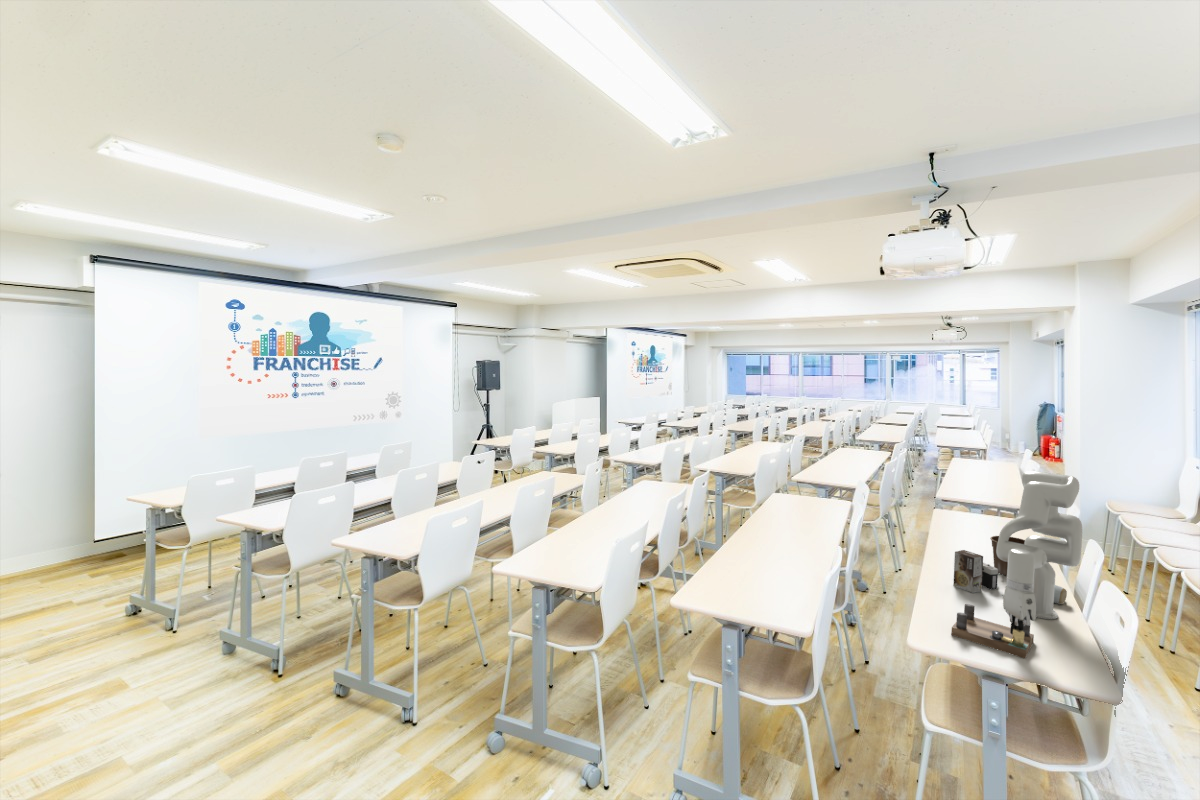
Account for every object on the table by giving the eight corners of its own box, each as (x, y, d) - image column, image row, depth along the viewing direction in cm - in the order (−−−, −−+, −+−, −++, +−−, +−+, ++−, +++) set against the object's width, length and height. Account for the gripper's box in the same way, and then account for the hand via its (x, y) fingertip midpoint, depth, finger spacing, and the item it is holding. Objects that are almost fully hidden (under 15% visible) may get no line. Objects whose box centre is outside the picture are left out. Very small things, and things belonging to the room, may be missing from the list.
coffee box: (982, 591, 242) (984, 556, 241) (972, 593, 240) (974, 557, 239) (962, 583, 251) (963, 549, 250) (952, 585, 248) (954, 551, 247)
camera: (1006, 589, 244) (1006, 567, 243) (985, 590, 244) (986, 568, 243) (984, 577, 258) (984, 557, 257) (965, 578, 258) (965, 557, 257)
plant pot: (981, 569, 268) (983, 537, 267) (1000, 564, 275) (1002, 533, 274) (1017, 581, 253) (1020, 548, 252) (1037, 576, 260) (1039, 543, 259)
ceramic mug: (1061, 607, 227) (1062, 589, 227) (1037, 599, 234) (1038, 582, 233) (1069, 601, 233) (1070, 584, 233) (1045, 594, 240) (1047, 577, 239)
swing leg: (990, 637, 194) (991, 623, 194) (993, 634, 196) (994, 621, 196) (1022, 648, 187) (1022, 634, 187) (1024, 645, 189) (1025, 631, 189)
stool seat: (962, 621, 213) (963, 601, 213) (1033, 642, 197) (1034, 621, 197) (951, 635, 202) (952, 614, 202) (1025, 658, 186) (1026, 636, 186)
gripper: (1047, 594, 184) (1043, 646, 185) (1015, 576, 199) (1012, 625, 200) (1024, 593, 184) (1021, 645, 185) (994, 576, 199) (991, 624, 200)
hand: (1016, 634), depth 193 cm, fingers closed
